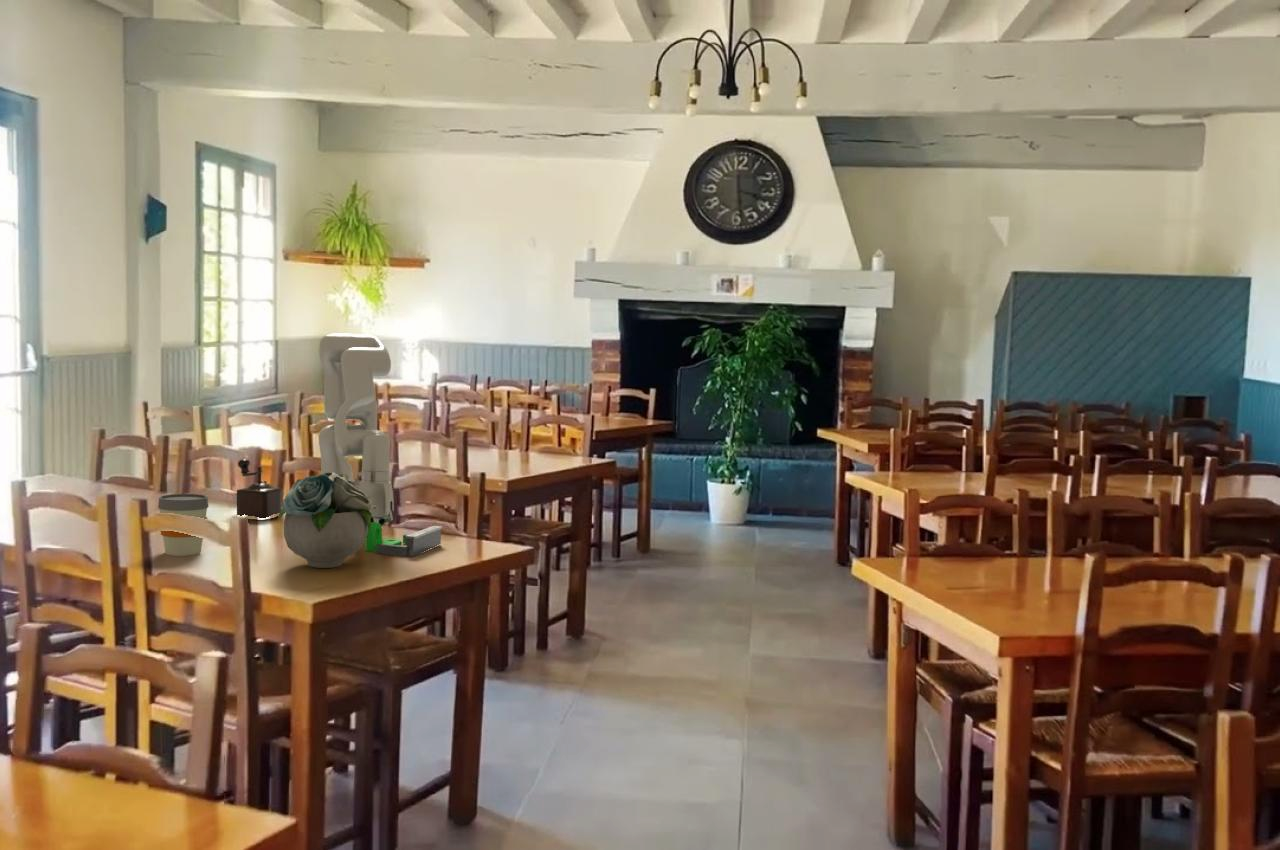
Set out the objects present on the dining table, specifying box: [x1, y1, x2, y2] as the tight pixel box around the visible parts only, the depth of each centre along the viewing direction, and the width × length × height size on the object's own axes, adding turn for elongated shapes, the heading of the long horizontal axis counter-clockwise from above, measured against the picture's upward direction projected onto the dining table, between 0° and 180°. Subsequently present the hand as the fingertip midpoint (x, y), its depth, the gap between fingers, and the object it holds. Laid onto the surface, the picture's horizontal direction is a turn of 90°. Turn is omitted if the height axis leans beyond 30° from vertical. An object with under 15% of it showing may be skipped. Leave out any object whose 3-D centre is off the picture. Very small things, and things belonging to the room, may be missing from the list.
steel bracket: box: [375, 525, 443, 558], centre depth 327 cm, size 11×19×6 cm, turn 166°
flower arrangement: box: [276, 473, 378, 569], centre depth 300 cm, size 25×25×24 cm
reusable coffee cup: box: [157, 493, 209, 557], centre depth 310 cm, size 13×13×15 cm
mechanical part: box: [365, 522, 403, 553], centre depth 327 cm, size 12×6×8 cm, turn 166°
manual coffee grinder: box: [236, 458, 283, 518], centre depth 371 cm, size 16×11×18 cm
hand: (374, 540), depth 329 cm, fingers closed
